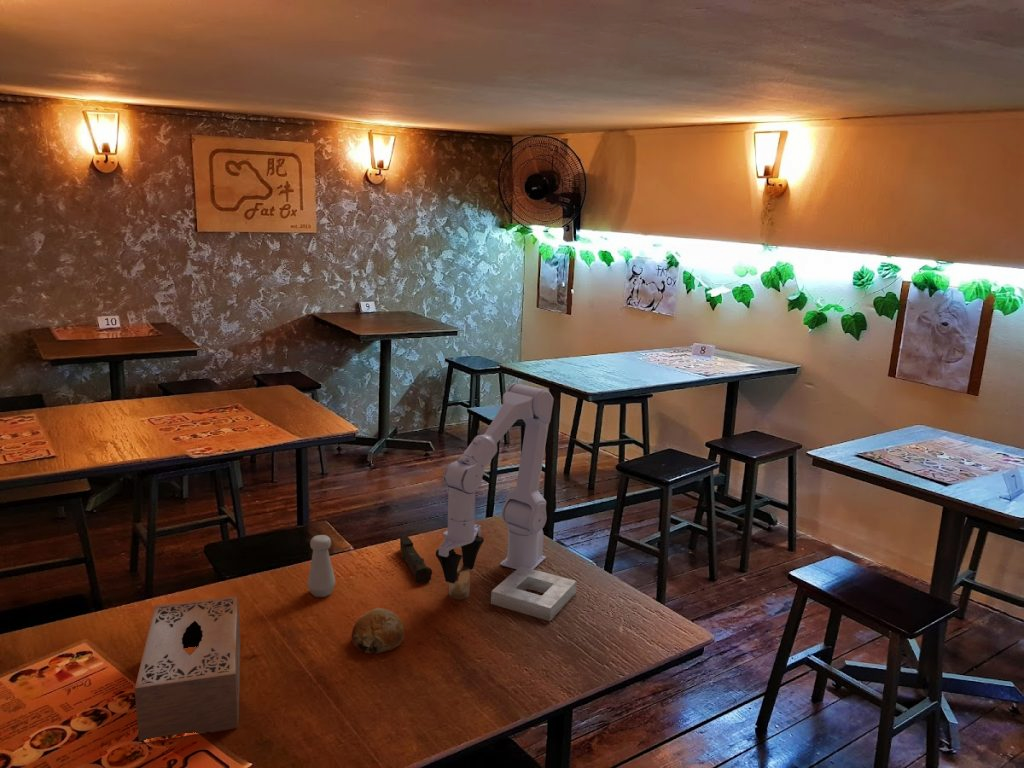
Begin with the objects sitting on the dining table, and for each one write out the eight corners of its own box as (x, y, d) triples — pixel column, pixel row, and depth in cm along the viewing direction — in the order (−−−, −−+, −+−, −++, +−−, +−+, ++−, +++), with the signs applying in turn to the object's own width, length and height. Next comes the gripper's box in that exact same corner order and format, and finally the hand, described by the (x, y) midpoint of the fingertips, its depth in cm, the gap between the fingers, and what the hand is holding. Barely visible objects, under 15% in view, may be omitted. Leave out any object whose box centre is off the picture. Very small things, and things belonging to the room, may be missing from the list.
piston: (455, 587, 169) (456, 563, 168) (472, 592, 167) (473, 567, 166) (445, 596, 165) (445, 570, 164) (462, 601, 164) (463, 575, 162)
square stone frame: (520, 577, 175) (520, 565, 174) (575, 593, 169) (576, 580, 168) (491, 603, 163) (491, 591, 162) (549, 621, 157) (550, 608, 156)
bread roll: (406, 661, 147) (420, 621, 148) (367, 660, 139) (382, 618, 140) (375, 641, 154) (389, 603, 154) (337, 639, 146) (351, 599, 147)
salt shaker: (340, 591, 166) (340, 536, 163) (321, 602, 161) (320, 545, 158) (321, 583, 169) (321, 529, 166) (302, 594, 164) (301, 538, 161)
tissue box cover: (158, 654, 140) (154, 605, 138) (240, 643, 145) (238, 595, 143) (139, 745, 117) (134, 688, 114) (238, 729, 121) (235, 673, 119)
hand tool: (432, 583, 172) (432, 564, 171) (415, 585, 170) (415, 566, 169) (412, 549, 189) (413, 531, 188) (397, 550, 187) (397, 533, 186)
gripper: (462, 502, 171) (460, 558, 173) (426, 523, 158) (425, 583, 161) (489, 509, 167) (487, 565, 170) (455, 531, 155) (454, 591, 158)
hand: (459, 574), depth 165 cm, fingers open, 7 cm apart
